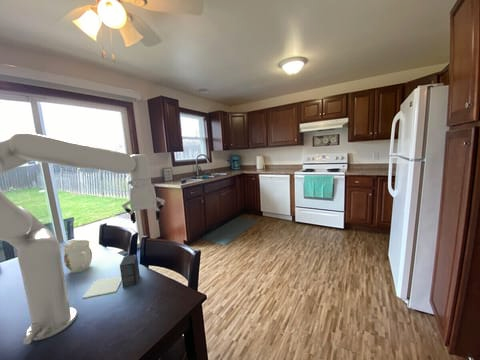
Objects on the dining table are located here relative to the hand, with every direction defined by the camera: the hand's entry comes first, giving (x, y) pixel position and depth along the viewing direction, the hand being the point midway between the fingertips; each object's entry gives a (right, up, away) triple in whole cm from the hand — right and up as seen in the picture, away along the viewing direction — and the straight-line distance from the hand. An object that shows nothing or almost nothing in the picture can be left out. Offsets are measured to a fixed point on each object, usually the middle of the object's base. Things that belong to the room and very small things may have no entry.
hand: (146, 220), depth 91 cm
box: (-7, -27, 0) cm, 28 cm away
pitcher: (-39, -28, +13) cm, 49 cm away
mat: (-17, -28, -2) cm, 33 cm away
